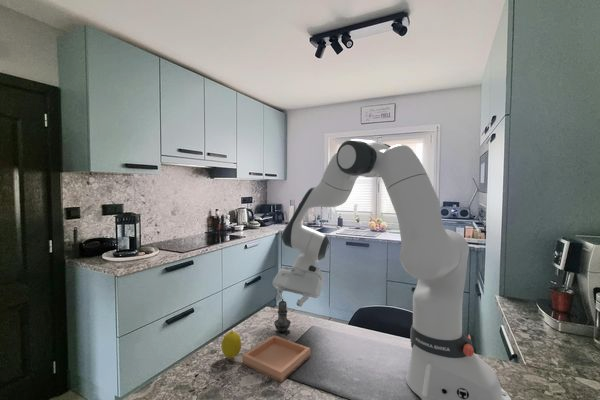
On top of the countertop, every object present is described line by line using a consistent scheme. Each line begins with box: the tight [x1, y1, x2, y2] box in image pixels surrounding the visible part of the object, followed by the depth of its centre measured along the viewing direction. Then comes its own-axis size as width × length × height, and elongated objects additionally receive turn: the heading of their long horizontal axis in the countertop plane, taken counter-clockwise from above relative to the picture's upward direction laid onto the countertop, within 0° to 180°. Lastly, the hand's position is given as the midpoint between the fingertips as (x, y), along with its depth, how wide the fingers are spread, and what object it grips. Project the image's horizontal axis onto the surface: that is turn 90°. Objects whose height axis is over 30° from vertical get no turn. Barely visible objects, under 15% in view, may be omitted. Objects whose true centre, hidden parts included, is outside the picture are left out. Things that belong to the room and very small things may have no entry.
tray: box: [242, 334, 311, 383], centre depth 79 cm, size 14×14×2 cm
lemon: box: [221, 330, 242, 360], centre depth 80 cm, size 6×6×8 cm
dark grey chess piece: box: [273, 298, 292, 337], centre depth 96 cm, size 6×6×12 cm
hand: (288, 302), depth 98 cm, fingers open, 8 cm apart
